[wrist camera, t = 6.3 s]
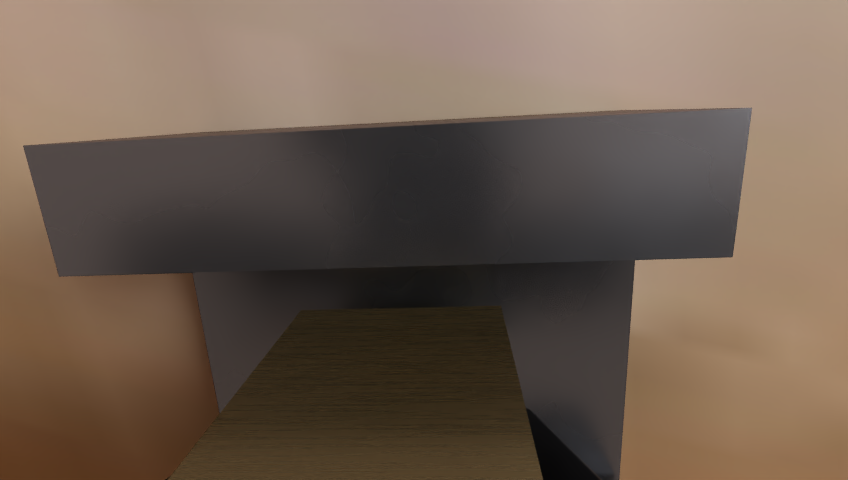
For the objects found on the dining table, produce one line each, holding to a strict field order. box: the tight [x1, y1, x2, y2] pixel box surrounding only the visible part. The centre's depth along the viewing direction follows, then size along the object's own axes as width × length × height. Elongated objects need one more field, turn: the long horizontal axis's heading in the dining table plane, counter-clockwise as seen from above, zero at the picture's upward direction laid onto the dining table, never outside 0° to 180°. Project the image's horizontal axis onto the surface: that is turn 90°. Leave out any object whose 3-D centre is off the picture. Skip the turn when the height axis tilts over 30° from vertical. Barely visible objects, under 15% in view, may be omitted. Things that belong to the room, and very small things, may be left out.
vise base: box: [23, 108, 752, 480], centre depth 10 cm, size 12×10×5 cm
